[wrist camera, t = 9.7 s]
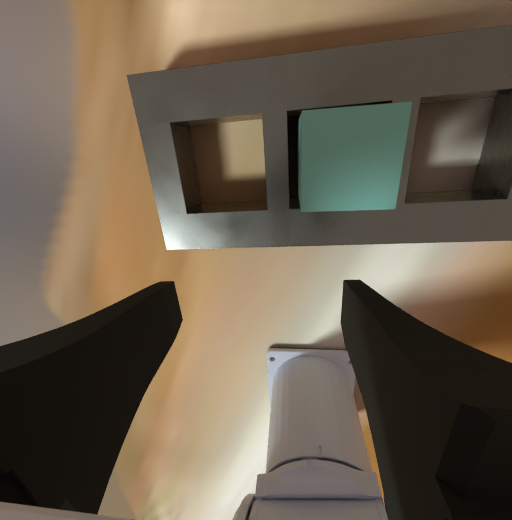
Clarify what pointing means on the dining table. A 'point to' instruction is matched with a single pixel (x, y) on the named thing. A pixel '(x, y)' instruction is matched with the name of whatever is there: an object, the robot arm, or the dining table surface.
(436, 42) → the rail
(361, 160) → the square peg
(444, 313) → the dining table surface
